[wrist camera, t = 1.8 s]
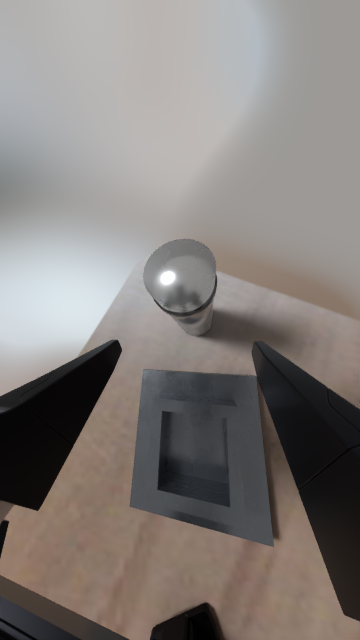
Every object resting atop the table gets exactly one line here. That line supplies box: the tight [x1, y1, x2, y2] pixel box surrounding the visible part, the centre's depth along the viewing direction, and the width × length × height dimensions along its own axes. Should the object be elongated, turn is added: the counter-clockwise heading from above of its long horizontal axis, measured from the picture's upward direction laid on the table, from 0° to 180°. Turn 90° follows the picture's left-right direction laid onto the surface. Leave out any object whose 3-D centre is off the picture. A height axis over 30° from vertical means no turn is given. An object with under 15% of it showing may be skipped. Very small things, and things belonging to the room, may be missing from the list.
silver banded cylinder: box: [143, 239, 217, 336], centre depth 15 cm, size 5×5×13 cm
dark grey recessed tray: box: [130, 369, 274, 547], centre depth 16 cm, size 15×15×4 cm
